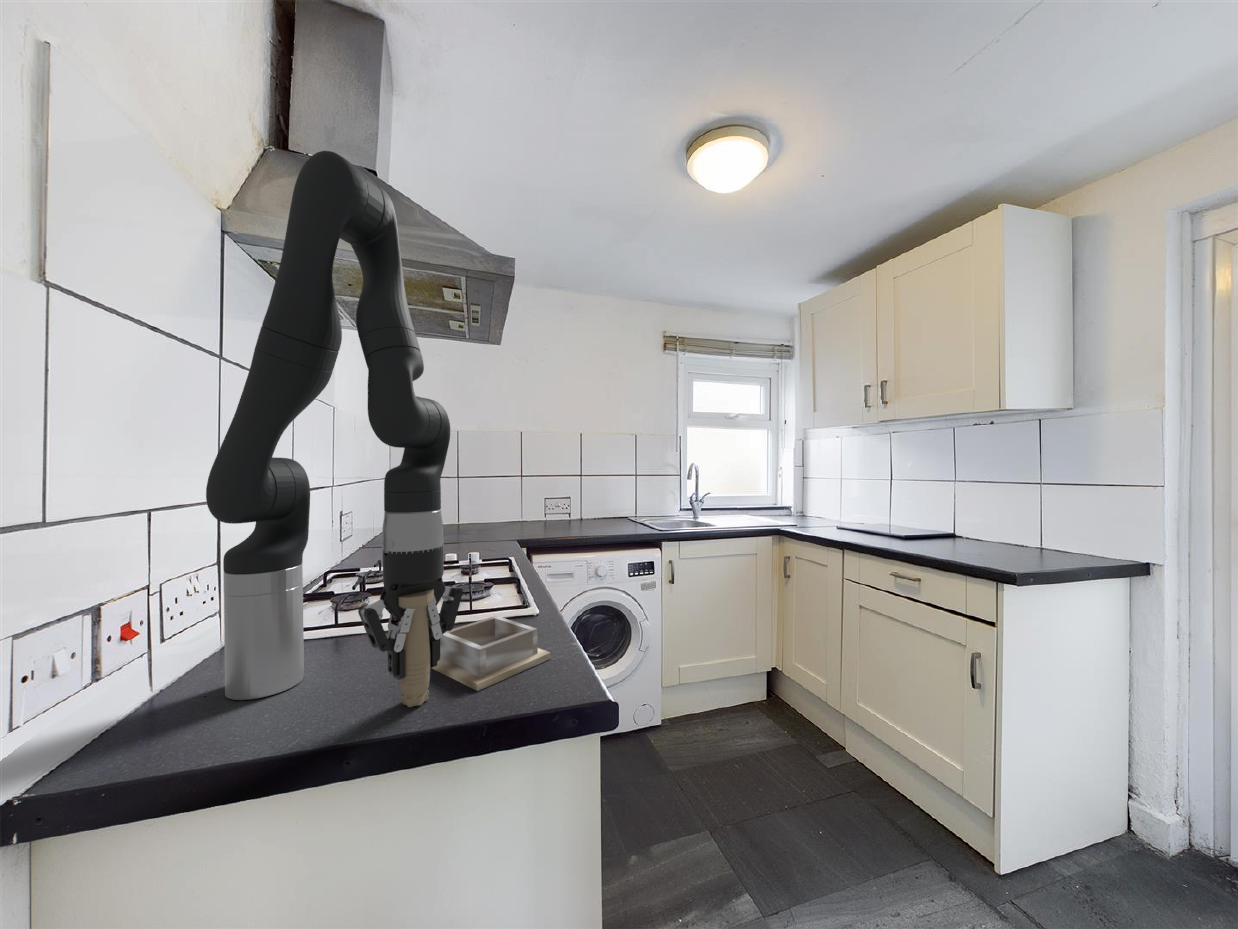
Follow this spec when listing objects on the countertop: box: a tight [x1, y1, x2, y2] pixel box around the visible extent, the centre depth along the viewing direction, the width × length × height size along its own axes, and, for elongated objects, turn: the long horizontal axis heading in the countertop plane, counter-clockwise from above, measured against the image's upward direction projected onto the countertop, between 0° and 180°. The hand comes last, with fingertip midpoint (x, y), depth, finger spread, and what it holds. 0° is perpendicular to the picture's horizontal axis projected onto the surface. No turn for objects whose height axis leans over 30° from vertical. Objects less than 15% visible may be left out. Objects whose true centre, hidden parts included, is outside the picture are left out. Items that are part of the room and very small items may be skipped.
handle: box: [399, 589, 434, 708], centre depth 64 cm, size 5×6×15 cm
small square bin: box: [431, 615, 552, 692], centre depth 77 cm, size 14×14×5 cm
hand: (414, 670), depth 64 cm, fingers closed on handle, 4 cm apart
